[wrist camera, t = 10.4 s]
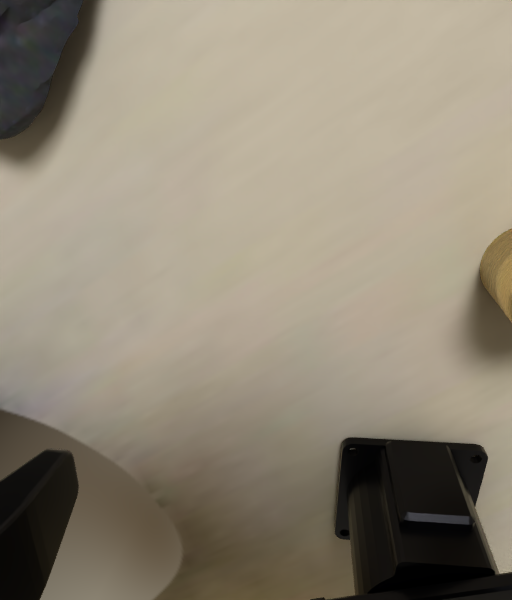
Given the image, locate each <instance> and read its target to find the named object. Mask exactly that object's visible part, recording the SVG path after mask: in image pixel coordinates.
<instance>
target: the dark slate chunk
mask: <svg viewBox="0 0 512 600" xmlns="http://www.w3.org/2000/svg"><path fill="white" fill-rule="evenodd" d="M82 3H83V0H0V139H6V138H10V137H13V136H15V135H17V134H19V133H20V132H22V131H23V130H25V129H26V128H27V127H29V126H30V125H31V123H32V122H33V120H34V119H35V117H36V116H37V115H38V114H39V113H40V111H41V110H42V108H43V106H44V103H45V101H46V98H47V95H48V92H49V88H50V83H51V79H52V76H53V73H54V71H55V69H56V66H57V64H58V61H59V58H60V56H61V53H62V50H63V48H64V45H65V43H66V41H67V39H68V38H69V36H70V35H71V33H72V32H73V31H74V29H75V28H76V26H77V25H78V22H79V21H78V17H77V15H78V12H79V10H80V8H81V5H82Z"/></svg>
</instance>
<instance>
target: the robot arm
mask: <svg viewBox="0 0 512 600" xmlns="http://www.w3.org/2000/svg"><path fill="white" fill-rule="evenodd" d="M350 448H356V449H355V450H350ZM474 455H477V456H475V457H472V456H474ZM487 461H488V456H487V454H486V452H485V450H484V448H483V447H482V446H480V445H476V444H460V443H441V442H423V441H404V440H386V439H368V438H348V439H346V440H344V441H343V443H342V446H341V458H340V469H339V480H338V492H337V503H336V515H335V535H336V536H337V537H338V538H340V539H346V540H350V542H351V554H352V565H353V576H354V587H355V595H354V596H347V597H340V598H334V599H327V600H512V572H509V573H503V574H499V571H498V568H497V566H496V563H495V560H494V557H493V555H492V552H491V549H490V547H489V544H488V541H487V539H486V536H485V533H484V530H483V528H482V525H481V522H480V520H479V517H478V514H477V512H476V509H475V505H476V501H477V498H478V494H479V490H480V486H481V483H482V479H483V475H484V472H485V468H486V464H487ZM78 486H79V485H78V478H77V473H76V467H75V462H74V457H73V454H72V452H71V451H69V450H63V449H52V448H50V449H46V450H44V451H42V452H41V453H40V454H38V455H37V456H35V457H34V458H32V459H31V460H30V461H28V462H27V463H25V464H24V465H22V466H21V467H19V468H18V469H17V470H15V471H14V472H12V473H11V474H9V475H8V476H7V477H6V478H4V479H2V480H1V481H0V600H40V598H41V595H42V593H43V590H44V588H45V586H46V584H47V581H48V578H49V575H50V573H51V570H52V567H53V564H54V562H55V559H56V556H57V553H58V550H59V547H60V544H61V541H62V539H63V536H64V533H65V530H66V527H67V524H68V522H69V519H70V516H71V513H72V510H73V507H74V504H75V501H76V499H77V495H78ZM310 600H325V598H324V597H323V598H316V599H310Z"/></svg>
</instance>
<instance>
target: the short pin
mask: <svg viewBox="0 0 512 600" xmlns="http://www.w3.org/2000/svg"><path fill="white" fill-rule="evenodd" d="M480 276H481V280H482V283H483V285H484V287H485V288H486V289H487V291H488V292H489V293H490V295H491V296H492V297H493V299H494V300H495V301H496V302H497V304H498V305H499V306H500V308H501V309H502V310H503V312H504V313H505V314H506V316H507V317H508V318H509V320H510V321H511V322H512V229H510V230H508V231H506V232H504V233H503V234H501V235H500V236H498V237H497V238H496V239H495V240H494V241H493V242H492V243H491V244H490V245H489V247H488V248H487V250H486V251H485V253H484V255H483V257H482V260H481V265H480Z"/></svg>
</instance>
